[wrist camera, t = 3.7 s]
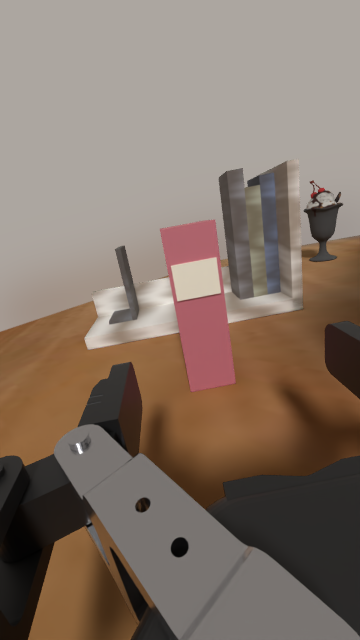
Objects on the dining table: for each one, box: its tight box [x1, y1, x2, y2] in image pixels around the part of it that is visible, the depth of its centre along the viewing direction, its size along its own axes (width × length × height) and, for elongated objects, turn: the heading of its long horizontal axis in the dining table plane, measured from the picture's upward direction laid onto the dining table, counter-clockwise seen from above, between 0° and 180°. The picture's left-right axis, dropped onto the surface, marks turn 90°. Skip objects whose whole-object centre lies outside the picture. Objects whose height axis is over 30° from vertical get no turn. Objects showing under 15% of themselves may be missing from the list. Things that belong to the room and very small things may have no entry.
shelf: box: [84, 159, 303, 350], centre depth 35 cm, size 26×9×16 cm, turn 94°
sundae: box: [304, 181, 343, 261], centre depth 55 cm, size 7×7×15 cm
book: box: [160, 220, 236, 392], centre depth 22 cm, size 4×5×12 cm
